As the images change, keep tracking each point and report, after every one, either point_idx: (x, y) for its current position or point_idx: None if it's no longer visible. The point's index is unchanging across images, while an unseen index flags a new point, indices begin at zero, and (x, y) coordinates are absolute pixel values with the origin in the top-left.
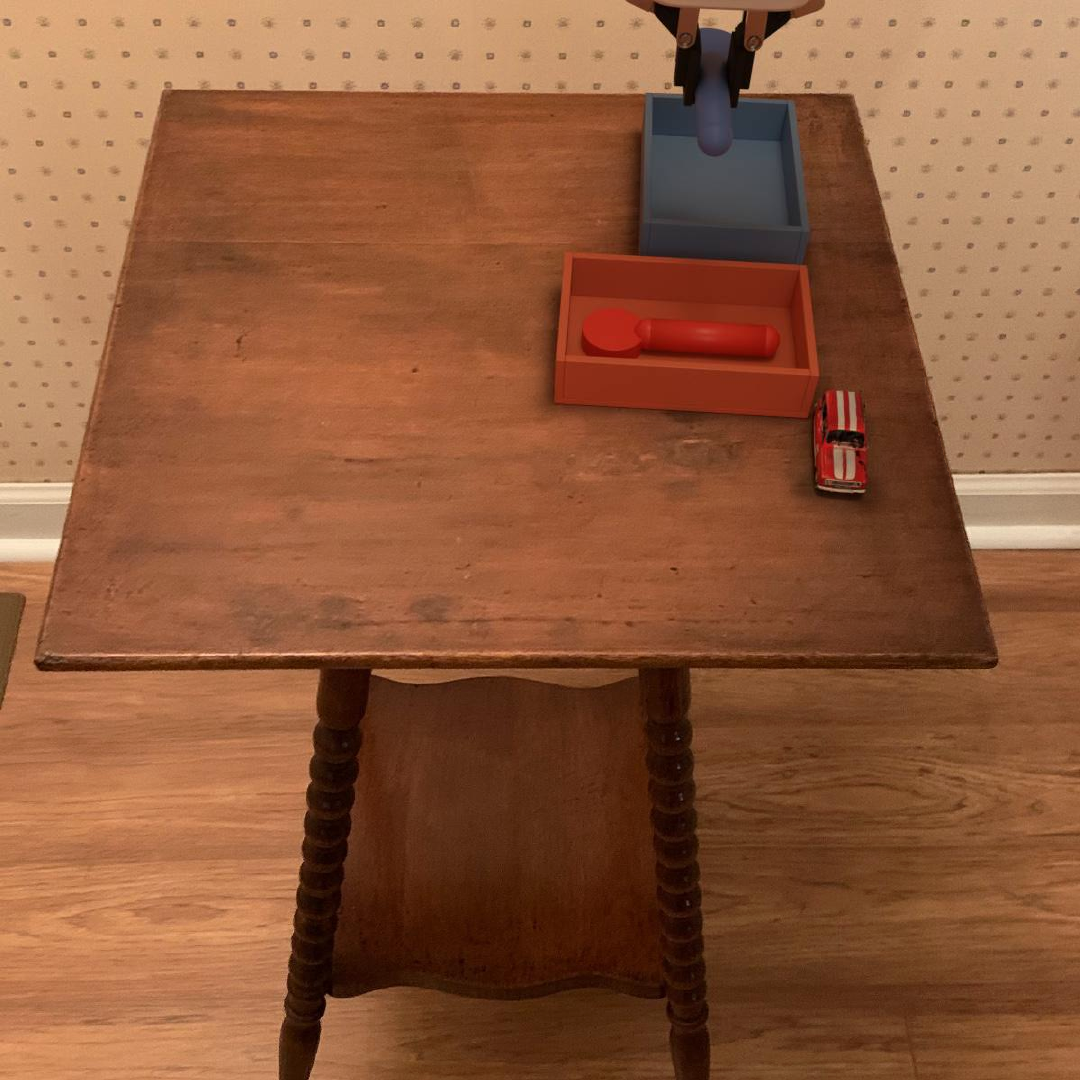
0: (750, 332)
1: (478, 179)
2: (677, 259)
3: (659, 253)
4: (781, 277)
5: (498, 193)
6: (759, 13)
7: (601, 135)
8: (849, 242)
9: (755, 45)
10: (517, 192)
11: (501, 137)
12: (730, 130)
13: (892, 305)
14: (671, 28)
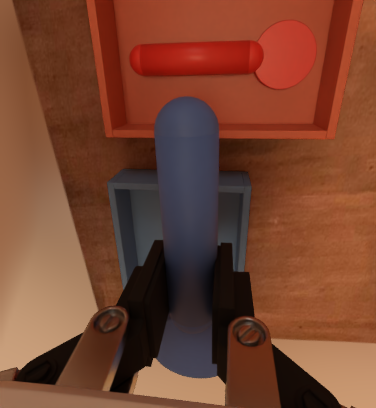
0: (154, 53)
1: (370, 265)
2: (221, 135)
3: (232, 175)
4: (128, 128)
5: (355, 250)
6: (77, 382)
7: (265, 308)
8: (91, 206)
9: (107, 315)
10: (339, 252)
11: (342, 307)
12: (157, 131)
13: (54, 139)
14: (281, 361)
